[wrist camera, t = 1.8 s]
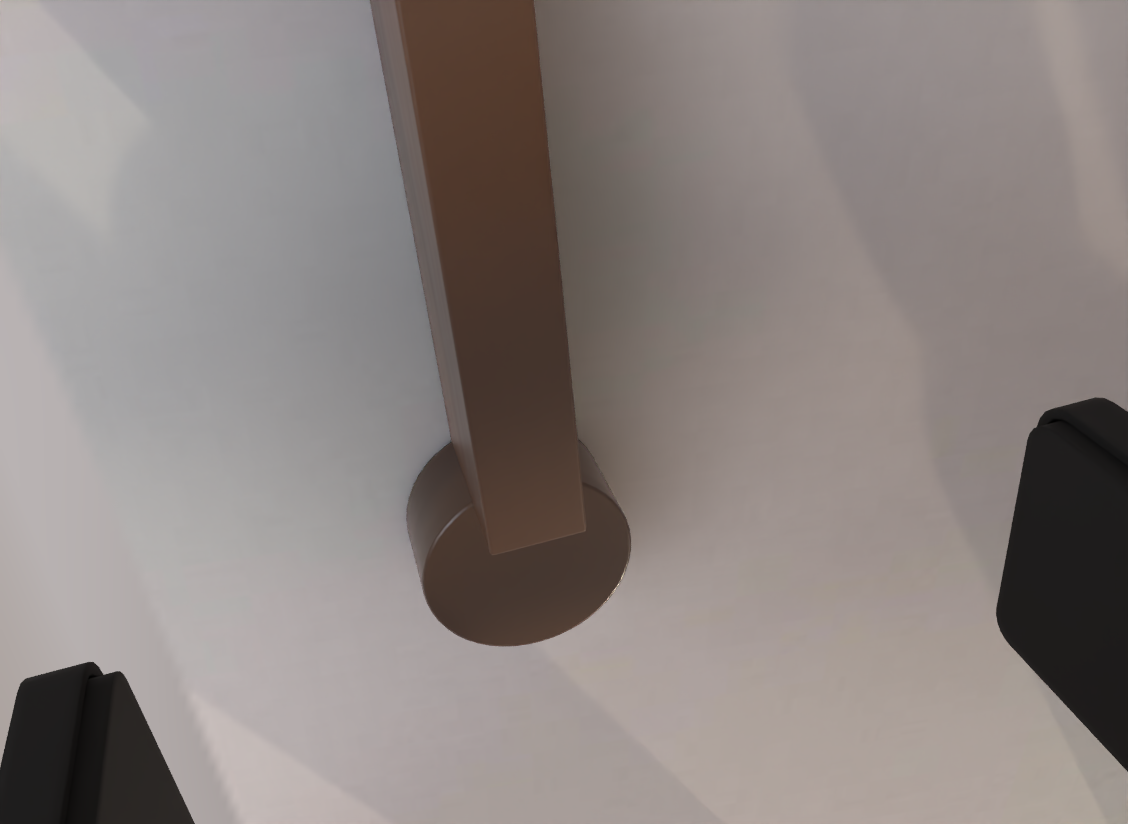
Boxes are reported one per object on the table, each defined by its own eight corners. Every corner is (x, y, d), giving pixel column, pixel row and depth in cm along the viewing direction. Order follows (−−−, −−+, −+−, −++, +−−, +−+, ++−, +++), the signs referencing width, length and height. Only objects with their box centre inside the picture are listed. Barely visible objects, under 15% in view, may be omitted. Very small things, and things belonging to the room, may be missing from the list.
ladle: (275, -48, 13) (289, -3, 10) (550, -86, 13) (625, -54, 11) (423, 601, 19) (454, 723, 17) (606, 552, 20) (660, 663, 17)
